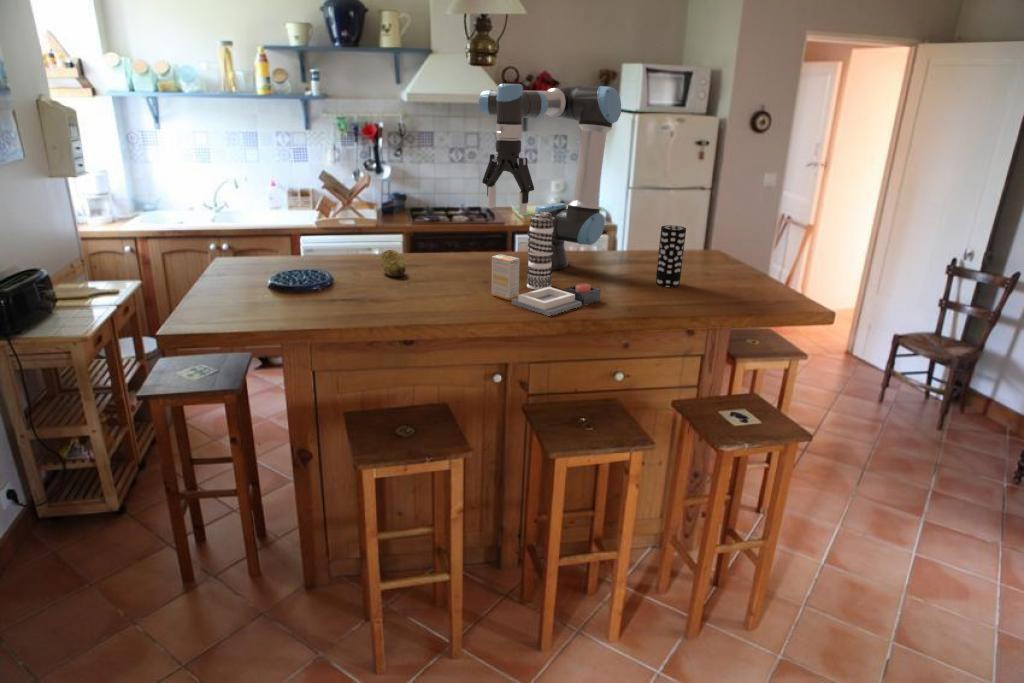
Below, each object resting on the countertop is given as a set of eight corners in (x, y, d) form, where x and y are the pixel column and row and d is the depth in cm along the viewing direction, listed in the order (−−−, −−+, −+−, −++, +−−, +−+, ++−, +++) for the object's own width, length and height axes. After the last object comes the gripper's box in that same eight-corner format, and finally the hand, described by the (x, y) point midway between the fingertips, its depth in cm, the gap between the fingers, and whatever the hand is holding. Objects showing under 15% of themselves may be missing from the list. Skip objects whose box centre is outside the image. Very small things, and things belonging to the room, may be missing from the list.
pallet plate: (511, 304, 211) (511, 293, 210) (544, 295, 221) (544, 284, 220) (548, 316, 200) (549, 305, 199) (581, 306, 210) (582, 296, 209)
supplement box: (519, 298, 217) (520, 258, 213) (509, 301, 214) (510, 260, 209) (501, 292, 222) (501, 253, 218) (490, 295, 219) (491, 255, 214)
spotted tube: (679, 288, 232) (686, 231, 225) (655, 286, 234) (661, 229, 226) (679, 282, 240) (685, 226, 233) (655, 280, 241) (661, 224, 234)
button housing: (564, 300, 216) (565, 288, 215) (580, 295, 221) (581, 283, 220) (583, 306, 211) (584, 293, 209) (599, 301, 216) (600, 289, 215)
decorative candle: (520, 286, 229) (522, 213, 220) (535, 281, 236) (538, 209, 227) (542, 292, 224) (545, 216, 215) (557, 286, 231) (561, 213, 222)
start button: (571, 296, 216) (572, 285, 214) (581, 293, 219) (582, 282, 218) (583, 299, 212) (584, 288, 211) (593, 296, 216) (593, 285, 214)
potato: (381, 279, 233) (380, 256, 230) (380, 269, 245) (379, 248, 242) (406, 278, 235) (405, 256, 232) (404, 269, 247) (403, 247, 244)
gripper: (471, 136, 206) (471, 206, 214) (530, 142, 190) (527, 218, 197) (489, 135, 211) (488, 204, 219) (548, 142, 195) (544, 215, 202)
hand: (506, 210), depth 208 cm, fingers open, 13 cm apart
